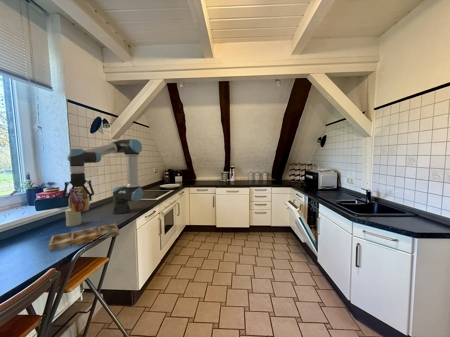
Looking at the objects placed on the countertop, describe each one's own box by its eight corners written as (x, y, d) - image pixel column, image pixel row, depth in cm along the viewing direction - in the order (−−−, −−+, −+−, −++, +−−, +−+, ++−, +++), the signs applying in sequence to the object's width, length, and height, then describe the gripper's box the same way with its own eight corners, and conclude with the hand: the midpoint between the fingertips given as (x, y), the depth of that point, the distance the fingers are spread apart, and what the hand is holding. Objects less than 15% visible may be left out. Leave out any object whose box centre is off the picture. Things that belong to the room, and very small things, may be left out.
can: (73, 226, 143) (72, 210, 142) (62, 225, 145) (61, 209, 144) (84, 222, 152) (83, 207, 151) (74, 221, 154) (73, 206, 153)
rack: (115, 228, 140) (115, 223, 139) (119, 235, 127) (119, 230, 127) (52, 241, 120) (51, 235, 119) (49, 251, 107) (48, 245, 107)
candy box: (87, 208, 134) (85, 186, 133) (88, 210, 131) (87, 187, 130) (70, 211, 127) (69, 188, 126) (72, 213, 124) (70, 189, 123)
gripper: (97, 171, 136) (99, 203, 138) (55, 173, 124) (58, 208, 125) (98, 172, 130) (100, 205, 132) (54, 174, 118) (56, 211, 119)
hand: (79, 207), depth 129 cm, fingers closed on candy box, 9 cm apart
